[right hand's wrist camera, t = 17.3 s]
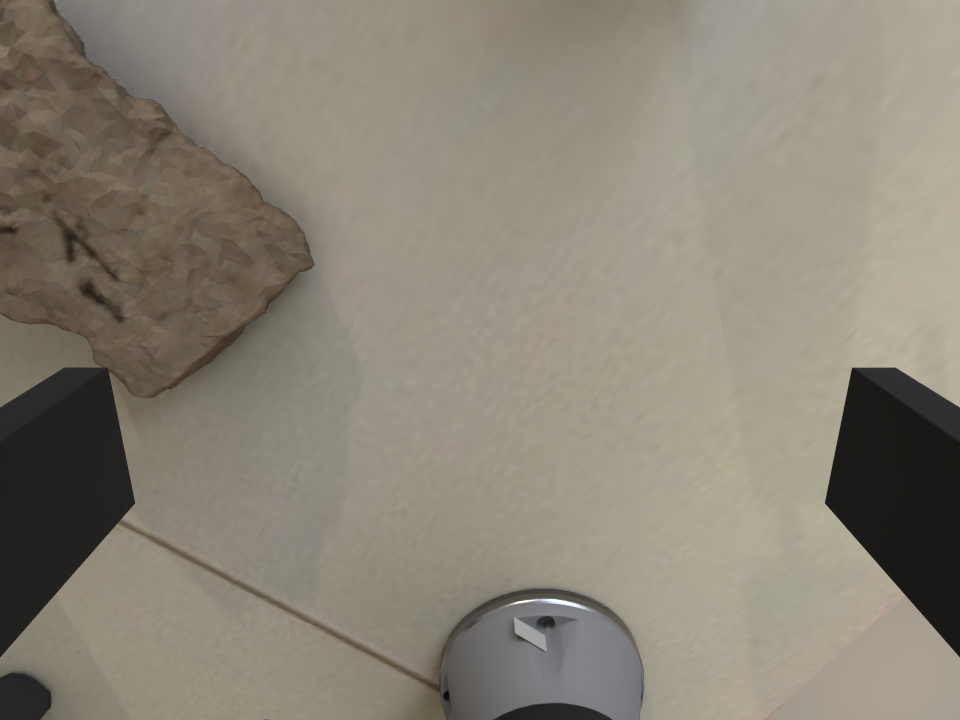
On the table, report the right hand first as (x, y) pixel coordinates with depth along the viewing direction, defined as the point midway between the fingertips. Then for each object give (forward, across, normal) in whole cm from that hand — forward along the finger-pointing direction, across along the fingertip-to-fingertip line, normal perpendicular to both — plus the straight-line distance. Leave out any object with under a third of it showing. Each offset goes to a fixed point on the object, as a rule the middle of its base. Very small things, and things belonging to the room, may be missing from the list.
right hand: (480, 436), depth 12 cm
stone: (+30, +21, 0) cm, 37 cm away
